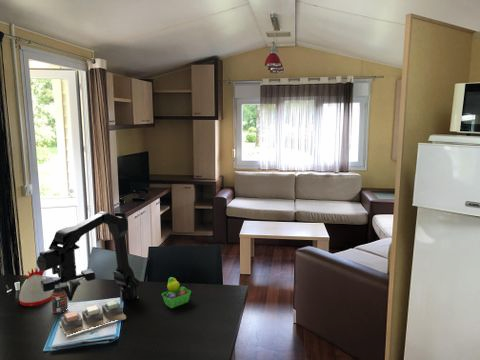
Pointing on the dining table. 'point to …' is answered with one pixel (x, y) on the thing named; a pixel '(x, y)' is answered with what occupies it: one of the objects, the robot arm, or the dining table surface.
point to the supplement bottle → (59, 300)
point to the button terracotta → (71, 316)
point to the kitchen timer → (34, 290)
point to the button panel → (92, 319)
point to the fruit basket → (175, 294)
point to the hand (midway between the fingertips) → (70, 300)
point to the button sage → (111, 304)
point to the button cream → (92, 310)
